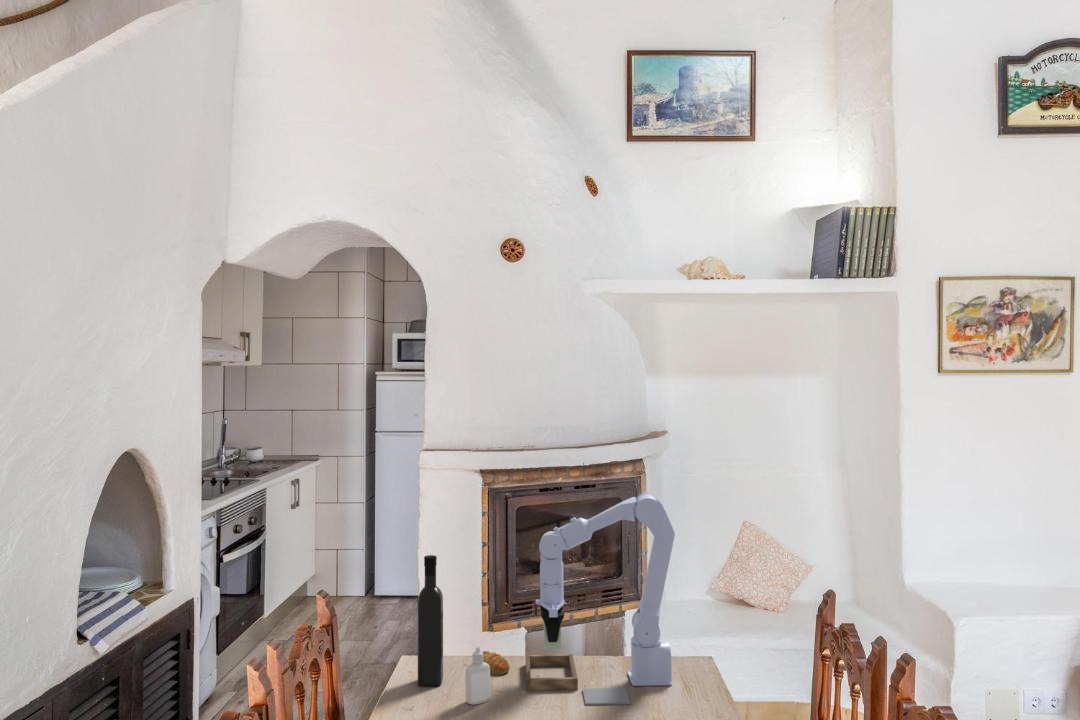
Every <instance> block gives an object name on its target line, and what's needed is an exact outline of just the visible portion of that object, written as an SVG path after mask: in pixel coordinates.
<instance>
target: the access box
mask: <svg viewBox="0 0 1080 720" xmlns="http://www.w3.org/2000/svg"><path fill="white" fill-rule="evenodd" d="M574 659H575V658H574V655H573V653H572V654H571V653H563V654H561V653H560V654H525V682H526V683H525V685H526V686H525V687H526V692H527V691H531V692H532V691H534V692H535V691H572V690H573V691H574V690H575V691H576V690H579V678H578V674H577V669H576V664H575V660H574ZM559 666H560V667H563V666H566V667H569V673H570V677H569V676H568V677H563V676H562V677H561V676H560V677H559V676H558V677H531V667H559Z"/></svg>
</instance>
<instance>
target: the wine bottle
mask: <svg viewBox="0 0 1080 720" xmlns="http://www.w3.org/2000/svg"><path fill="white" fill-rule="evenodd" d="M437 558H438V557H437V555H433V554H431V555H430V554H428V555H425V556H424V557H423V561H424V564H423V565H424V586H423V588H422V589H421V590H420V592H419V595H418V597H417V685H419V687H421V686H427V687H440V686H441V685H442V684H443V681H444V680H443V679H444V595H443V592H442V591H441V589H440V588H439V587H438V586H437V564H438V563H437Z"/></svg>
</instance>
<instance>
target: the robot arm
mask: <svg viewBox="0 0 1080 720" xmlns="http://www.w3.org/2000/svg"><path fill="white" fill-rule="evenodd" d="M635 517H636V518H637V520H638V521H639V522H640V523H641V524H643V526H646V527H647V528H648V529H649V531H650V533H651V534H652V535H653V541H652V546H651V551H650V555H649V561H648V565H647V566H648V567H647V570H646V575H645V580H644V584H643V587H642V588H643V589H642V593H641V599H640V601H639V603H638V607H637V610H636V611H635V612H634V613H633V615H632V618H631V625H632V628H633V629H632V630H633V636H632V637H631V638H630V663H631V664H630V665H631V666H630V669H631V671H629V670H628V671H627V675H628V677H629V681H630V683H631V685H632V686H634V687H641V686H643V687H645V686H673V682H672V681H673V679H672V678H673V677H672V676H673V675H672V652H671V645H670V642H668V641H663V640H662V639H661V638H660V637H661V630H660V625H659V622H660V616H661V615H660V614H661V604H662V599H663V595H664V589H665V584H666V579H667V576H668V571H669V565H670V560H671V555H672V550H673V546H674V541H675V533H676V532H675V530H674V528H673V526H672V525H673V524H672V523H671V521H670V518H669V516H668V513H667V511H666V509H665V508H664V505H663V504H662V503H661V502H660V501H659V499H658V498H657V497H656V496H655V495H653V494H652V493H650V492H644V493H640V494H639V495H638V496H632V497H630V498H627V499H624V500H623V501H621V502H619V503H617V504H615V505H613V506H610V507H609V508H608V509H605V510H604V511H602V512H600V513H598V514H596V515H594V516H593V517H590V518H587V519H586V518H583V517H579V518H577V517H573V518H570V521H569V522H568V523H566V524H564V525H562V526H560V527H558V526H555V527H554V528H553V531H552V530H550V531H547V532H545V533H544V534H543V535H542V537H541V539H540V540H539V544H538V548H539V553H540V557H539V559H540V564H539V588H540V589H539V594H540V597H539V599H535V605H540V606H539V607H540V610H541V612H540V617H541V618H542V620H543V624H544V623H545V626H546V632H547V638H548V641H549V642H557V640H558V636H559V629H560V625H561V626H562V623H563V620H564V618H565V612H562V611H563V609H564V605H565V599H564V598H565V597H564V595H565V593H564V562H563V551H569V550H571V549H573V548H575V547H577V546H579V545H581V544H583V543H586V542H588V541H590V540H591V539H592V537H593V533H594V532H596V531H599V530H601V529H603V528H605V527H608V526H611V525H612V524H615V523H618V522H619V521H623V520H624V521H630V522H636V520H635Z"/></svg>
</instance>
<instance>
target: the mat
mask: <svg viewBox="0 0 1080 720" xmlns="http://www.w3.org/2000/svg"><path fill="white" fill-rule="evenodd" d="M581 691H582V695H583V699H584V705H585V706H605V705H607V706H610V705H612V706H613V705H615V706H616V705H617V706H618V705H631V701H630V699H629V698H630V697H629V694H628V693H627V690H626V687H611V688H610V687H608V688H607V687H601V688H600V687H598V688H595V687H594V688H582V689H581Z"/></svg>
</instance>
